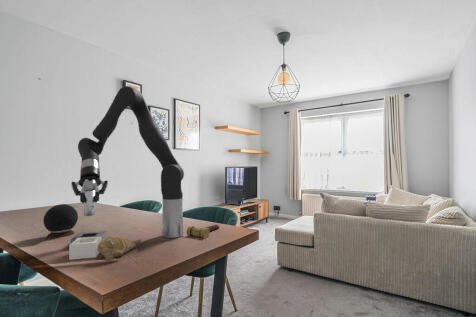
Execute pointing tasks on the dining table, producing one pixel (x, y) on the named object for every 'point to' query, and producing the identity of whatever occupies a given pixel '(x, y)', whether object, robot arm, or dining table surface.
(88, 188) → the grey tall cylinder
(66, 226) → the black rounded disc
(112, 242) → the seashell
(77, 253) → the block
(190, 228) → the gavel
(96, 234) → the socket block
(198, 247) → the dining table surface
